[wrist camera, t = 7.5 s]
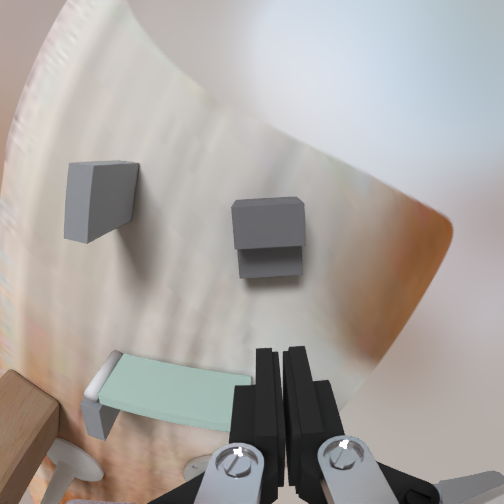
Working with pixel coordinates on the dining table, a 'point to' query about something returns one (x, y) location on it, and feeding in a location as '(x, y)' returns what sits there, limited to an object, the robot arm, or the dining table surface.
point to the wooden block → (23, 433)
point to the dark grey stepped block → (269, 236)
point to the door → (166, 391)
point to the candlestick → (69, 469)
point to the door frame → (94, 226)
